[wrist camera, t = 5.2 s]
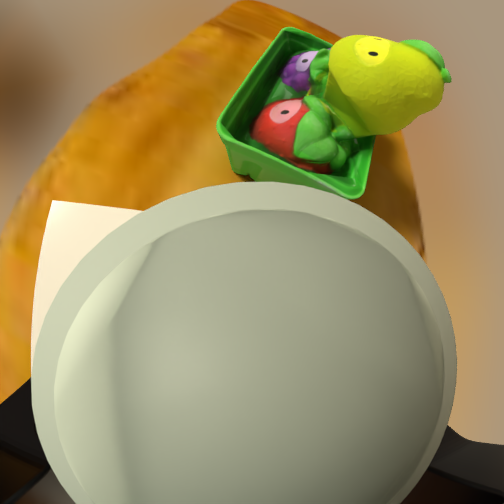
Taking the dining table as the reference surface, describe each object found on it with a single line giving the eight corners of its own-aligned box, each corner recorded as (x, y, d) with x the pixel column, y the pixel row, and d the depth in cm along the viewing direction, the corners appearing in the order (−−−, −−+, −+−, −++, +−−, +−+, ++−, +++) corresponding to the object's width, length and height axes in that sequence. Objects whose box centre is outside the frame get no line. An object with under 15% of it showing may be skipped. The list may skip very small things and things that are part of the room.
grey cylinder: (205, 409, 12) (253, 597, 2) (131, 325, 12) (-33, 375, 2) (288, 340, 14) (486, 390, 3) (218, 256, 14) (304, 107, 3)
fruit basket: (267, 68, 19) (316, -46, 8) (364, 118, 20) (448, 32, 9) (202, 179, 16) (230, 17, 6) (333, 240, 18) (480, 169, 7)
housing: (321, 516, 14) (340, 540, 10) (77, 503, 10) (63, 529, 7) (363, 261, 18) (397, 252, 14) (76, 220, 14) (52, 200, 11)
